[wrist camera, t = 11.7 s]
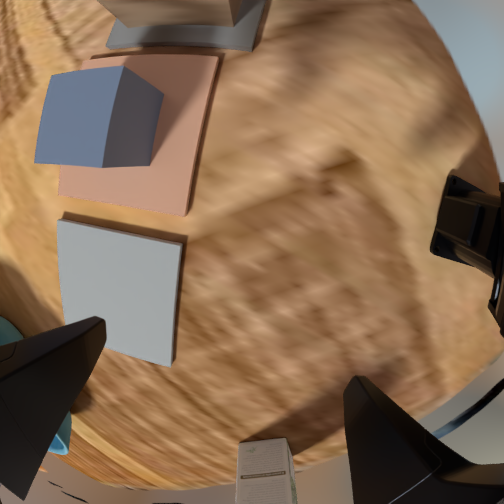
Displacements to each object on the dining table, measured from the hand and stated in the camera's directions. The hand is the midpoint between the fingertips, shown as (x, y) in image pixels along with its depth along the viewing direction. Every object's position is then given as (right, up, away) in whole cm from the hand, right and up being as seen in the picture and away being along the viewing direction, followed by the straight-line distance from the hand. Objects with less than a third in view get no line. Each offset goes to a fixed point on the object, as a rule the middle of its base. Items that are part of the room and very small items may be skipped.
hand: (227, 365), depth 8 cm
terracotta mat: (-8, +12, +8) cm, 16 cm away
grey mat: (-10, 0, +11) cm, 15 cm away
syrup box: (+3, -20, +18) cm, 27 cm away
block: (-8, +12, +7) cm, 16 cm away
